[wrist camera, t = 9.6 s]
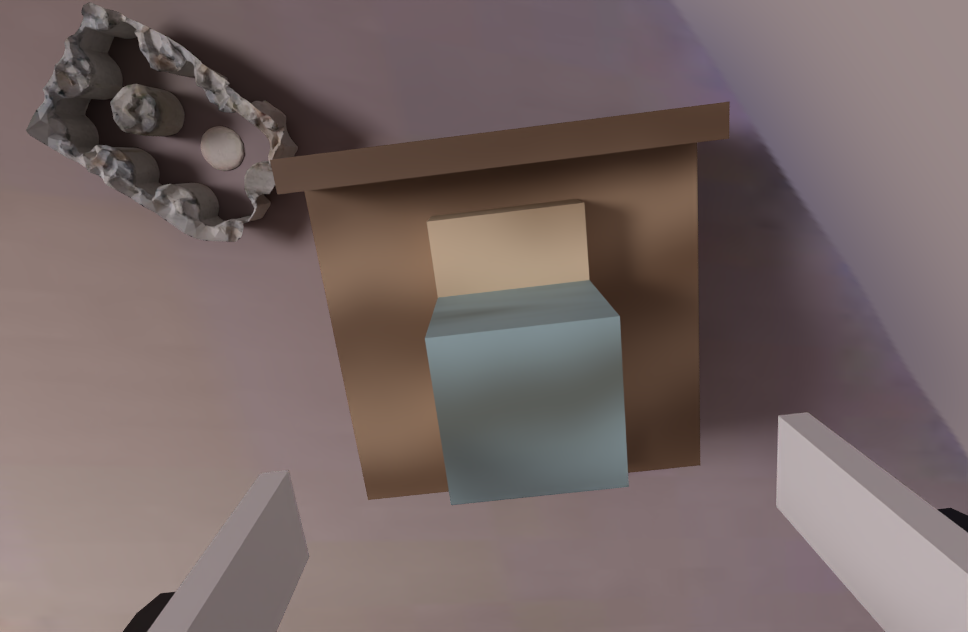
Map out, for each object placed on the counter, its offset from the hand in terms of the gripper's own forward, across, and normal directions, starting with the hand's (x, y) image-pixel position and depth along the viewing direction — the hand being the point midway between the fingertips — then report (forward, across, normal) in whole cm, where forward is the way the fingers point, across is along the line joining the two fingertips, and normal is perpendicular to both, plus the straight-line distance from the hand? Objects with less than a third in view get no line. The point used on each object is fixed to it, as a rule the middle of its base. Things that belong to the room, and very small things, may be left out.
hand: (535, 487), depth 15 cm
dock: (+17, 0, -2) cm, 17 cm away
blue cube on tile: (+10, 0, -1) cm, 10 cm away
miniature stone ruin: (+18, +15, -12) cm, 26 cm away
